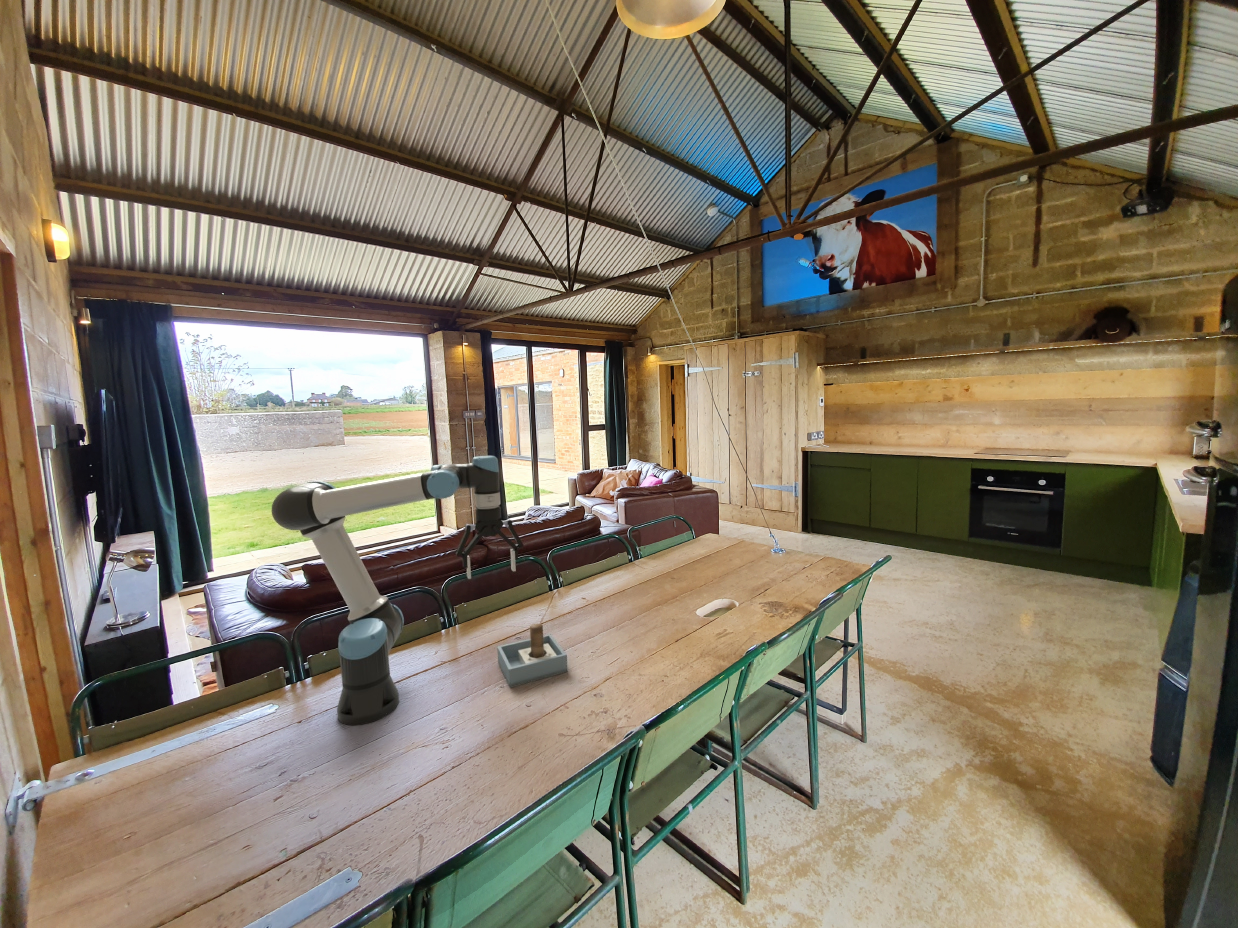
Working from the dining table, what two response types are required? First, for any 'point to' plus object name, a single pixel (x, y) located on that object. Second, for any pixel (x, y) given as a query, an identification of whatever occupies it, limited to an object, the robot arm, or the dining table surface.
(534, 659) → the plate
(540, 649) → the peg
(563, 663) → the box
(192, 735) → the dining table surface
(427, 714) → the dining table surface
